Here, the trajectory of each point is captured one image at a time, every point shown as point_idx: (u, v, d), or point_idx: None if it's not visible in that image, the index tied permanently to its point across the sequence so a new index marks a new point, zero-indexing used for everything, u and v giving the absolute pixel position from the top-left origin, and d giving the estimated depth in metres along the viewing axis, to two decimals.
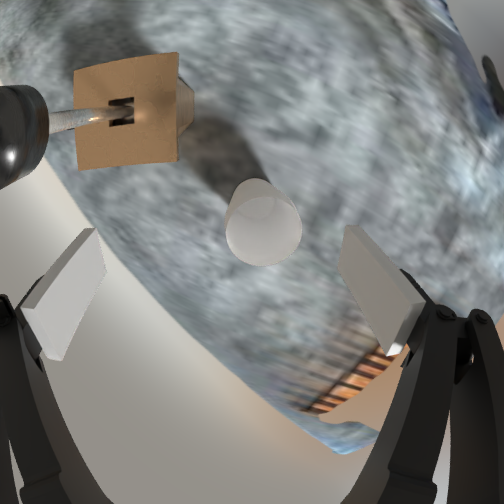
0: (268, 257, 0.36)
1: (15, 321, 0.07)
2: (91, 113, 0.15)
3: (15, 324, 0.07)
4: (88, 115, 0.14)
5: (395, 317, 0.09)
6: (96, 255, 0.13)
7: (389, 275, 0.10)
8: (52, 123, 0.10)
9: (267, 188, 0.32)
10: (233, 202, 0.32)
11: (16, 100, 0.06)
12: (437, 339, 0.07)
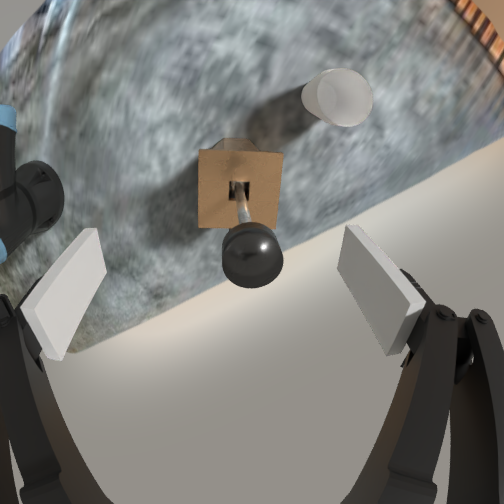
0: (367, 97, 0.35)
1: (15, 321, 0.07)
2: (242, 207, 0.29)
3: (15, 324, 0.07)
4: (244, 208, 0.28)
5: (395, 317, 0.09)
6: (96, 255, 0.13)
7: (389, 275, 0.10)
8: None
9: (310, 89, 0.34)
10: (319, 116, 0.36)
11: (237, 236, 0.20)
12: (437, 339, 0.07)
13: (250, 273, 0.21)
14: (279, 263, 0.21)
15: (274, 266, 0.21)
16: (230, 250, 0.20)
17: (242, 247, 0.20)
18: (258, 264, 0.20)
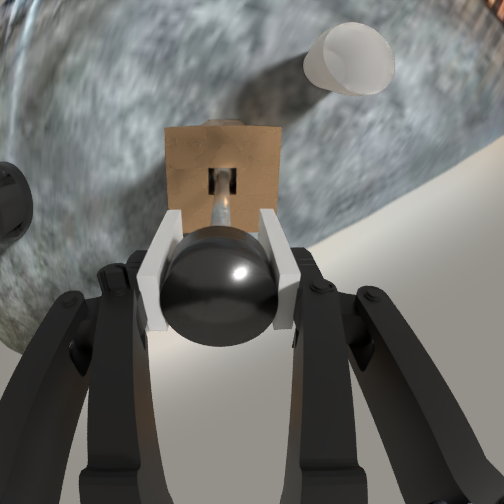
0: (386, 61, 0.24)
1: (131, 294, 0.09)
2: (219, 201, 0.19)
3: (130, 297, 0.09)
4: (221, 204, 0.18)
5: None
6: (180, 235, 0.15)
7: (273, 250, 0.11)
8: None
9: (314, 49, 0.24)
10: (328, 83, 0.26)
11: (184, 256, 0.10)
12: (317, 316, 0.08)
13: (216, 322, 0.11)
14: (271, 306, 0.10)
15: (261, 311, 0.11)
16: (171, 285, 0.10)
17: (193, 278, 0.10)
18: (229, 307, 0.10)
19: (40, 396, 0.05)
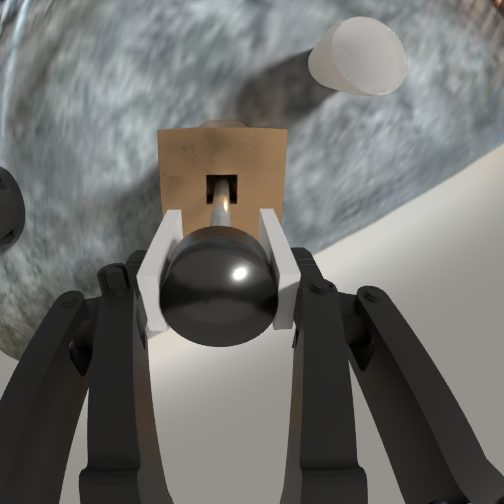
0: (397, 59, 0.22)
1: (131, 294, 0.09)
2: (218, 201, 0.19)
3: (131, 297, 0.09)
4: (220, 204, 0.18)
5: None
6: (180, 235, 0.15)
7: (273, 250, 0.11)
8: None
9: (321, 45, 0.22)
10: (336, 81, 0.24)
11: (184, 257, 0.10)
12: (317, 316, 0.08)
13: (216, 323, 0.11)
14: (271, 306, 0.10)
15: (261, 311, 0.11)
16: (171, 285, 0.10)
17: (193, 278, 0.10)
18: (229, 308, 0.10)
19: (40, 396, 0.05)
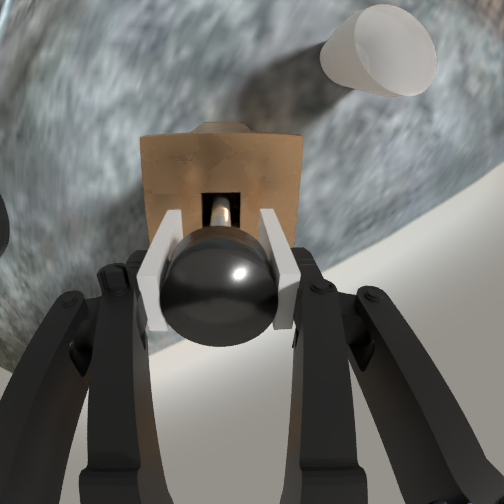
0: (424, 55, 0.18)
1: (131, 294, 0.09)
2: (219, 201, 0.19)
3: (130, 297, 0.09)
4: (220, 204, 0.18)
5: None
6: (180, 235, 0.15)
7: (273, 250, 0.11)
8: None
9: (339, 35, 0.18)
10: (357, 78, 0.19)
11: (184, 256, 0.10)
12: (317, 316, 0.08)
13: (216, 323, 0.11)
14: (271, 306, 0.10)
15: (261, 311, 0.11)
16: (171, 285, 0.10)
17: (193, 278, 0.10)
18: (229, 308, 0.10)
19: (40, 396, 0.05)
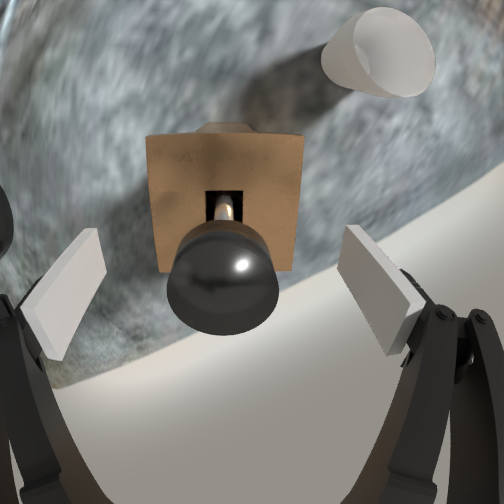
0: (423, 57, 0.18)
1: (15, 321, 0.07)
2: (222, 198, 0.19)
3: (15, 324, 0.07)
4: (224, 201, 0.19)
5: (395, 317, 0.09)
6: (96, 255, 0.13)
7: (389, 275, 0.10)
8: None
9: (340, 38, 0.18)
10: (356, 79, 0.20)
11: (190, 248, 0.10)
12: (437, 339, 0.07)
13: (220, 311, 0.11)
14: (272, 295, 0.11)
15: (262, 300, 0.11)
16: (177, 274, 0.10)
17: (198, 268, 0.10)
18: (232, 297, 0.11)
19: None
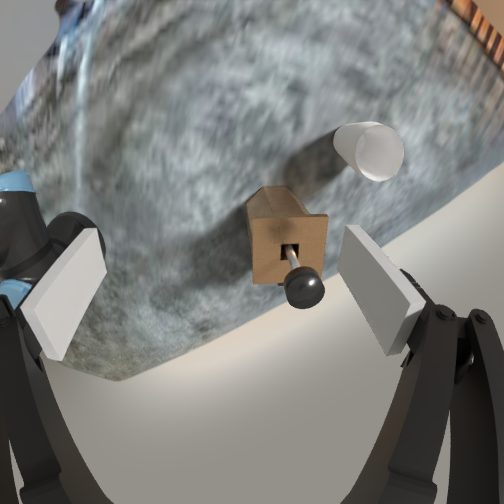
0: (397, 147, 0.38)
1: (15, 321, 0.07)
2: (288, 247, 0.40)
3: (15, 324, 0.07)
4: (290, 249, 0.39)
5: (395, 317, 0.09)
6: (96, 255, 0.13)
7: (389, 275, 0.10)
8: (297, 266, 0.35)
9: (347, 145, 0.38)
10: (355, 170, 0.40)
11: (296, 278, 0.31)
12: (437, 339, 0.07)
13: (304, 299, 0.32)
14: (322, 292, 0.31)
15: (319, 294, 0.32)
16: (292, 288, 0.31)
17: (299, 285, 0.31)
18: (309, 294, 0.31)
19: None
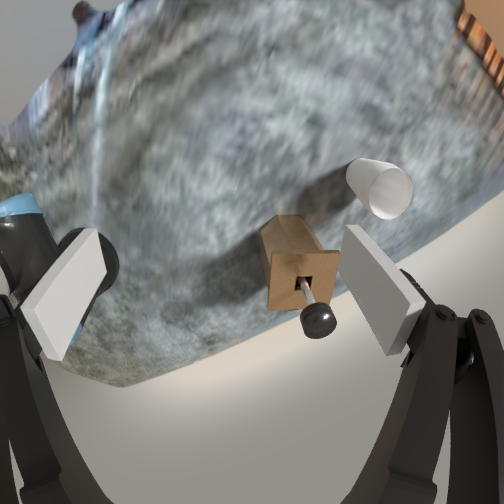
0: (406, 187, 0.42)
1: (15, 321, 0.07)
2: (302, 279, 0.43)
3: (15, 324, 0.07)
4: (304, 281, 0.42)
5: (395, 317, 0.09)
6: (96, 255, 0.13)
7: (389, 275, 0.10)
8: (312, 299, 0.38)
9: (361, 184, 0.42)
10: None
11: (313, 314, 0.34)
12: (437, 339, 0.07)
13: (318, 331, 0.35)
14: (334, 325, 0.35)
15: (331, 327, 0.35)
16: (309, 322, 0.34)
17: (316, 320, 0.34)
18: (323, 327, 0.35)
19: None
